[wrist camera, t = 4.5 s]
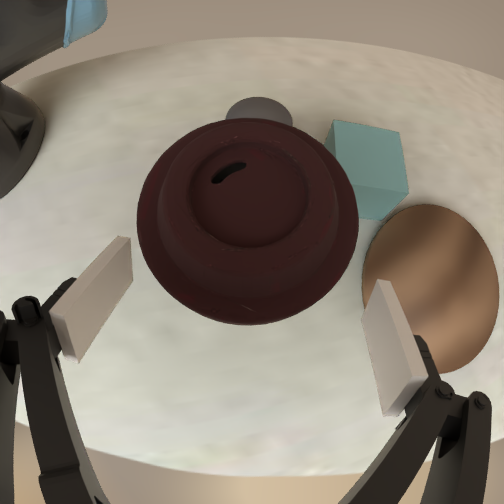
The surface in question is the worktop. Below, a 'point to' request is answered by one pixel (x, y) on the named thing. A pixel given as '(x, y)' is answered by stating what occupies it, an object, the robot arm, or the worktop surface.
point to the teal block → (370, 166)
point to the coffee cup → (247, 221)
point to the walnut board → (437, 280)
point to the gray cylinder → (260, 110)
